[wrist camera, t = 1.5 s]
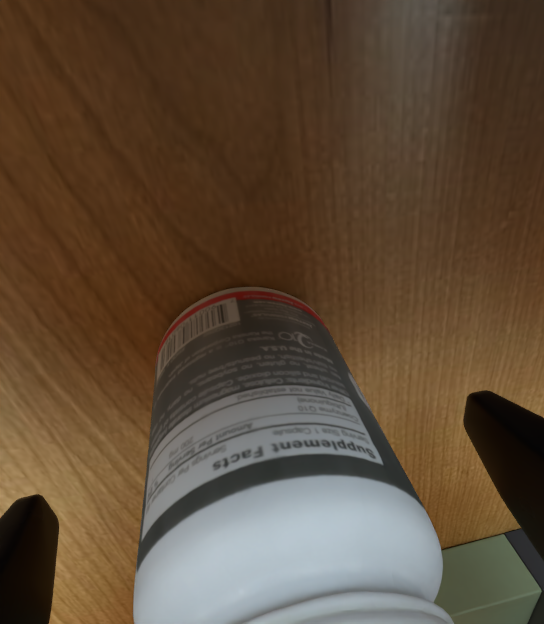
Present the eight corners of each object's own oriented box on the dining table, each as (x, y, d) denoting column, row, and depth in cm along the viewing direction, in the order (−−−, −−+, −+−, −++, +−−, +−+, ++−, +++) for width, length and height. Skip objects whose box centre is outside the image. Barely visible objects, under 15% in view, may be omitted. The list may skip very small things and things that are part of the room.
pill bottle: (313, 418, 13) (465, 834, 6) (157, 425, 12) (122, 934, 5) (344, 282, 11) (650, 704, 4) (153, 277, 10) (77, 843, 3)
